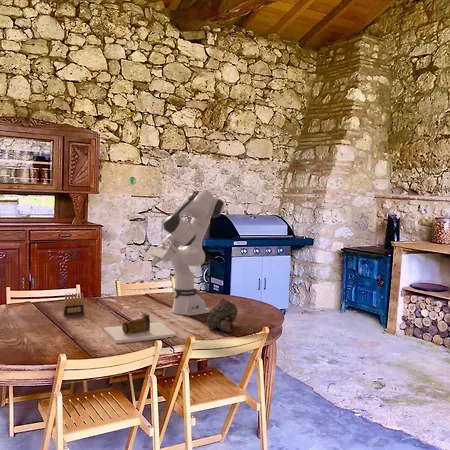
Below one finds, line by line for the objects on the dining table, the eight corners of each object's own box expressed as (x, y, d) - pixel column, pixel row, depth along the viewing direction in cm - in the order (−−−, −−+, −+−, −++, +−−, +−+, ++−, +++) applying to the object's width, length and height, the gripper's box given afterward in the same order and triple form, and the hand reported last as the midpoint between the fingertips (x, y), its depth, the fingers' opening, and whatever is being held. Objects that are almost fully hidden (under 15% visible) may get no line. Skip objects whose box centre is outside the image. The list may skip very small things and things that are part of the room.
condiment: (142, 328, 242) (120, 333, 234) (142, 311, 241) (120, 316, 233) (150, 332, 236) (128, 337, 228) (150, 315, 235) (128, 319, 227)
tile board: (159, 324, 255) (160, 322, 255) (176, 336, 236) (176, 333, 235) (103, 330, 240) (103, 327, 240) (116, 343, 221) (116, 340, 221)
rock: (216, 293, 260) (235, 293, 249) (231, 310, 266) (250, 311, 255) (198, 320, 250) (216, 321, 239) (213, 337, 256) (232, 340, 245)
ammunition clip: (64, 315, 265) (64, 293, 264) (63, 314, 266) (63, 293, 265) (83, 313, 270) (84, 292, 269) (83, 312, 272) (83, 291, 271)
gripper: (158, 239, 265) (141, 258, 262) (172, 243, 247) (154, 263, 244) (166, 247, 268) (149, 265, 264) (180, 251, 250) (162, 271, 246)
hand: (152, 264), depth 254 cm, fingers closed
